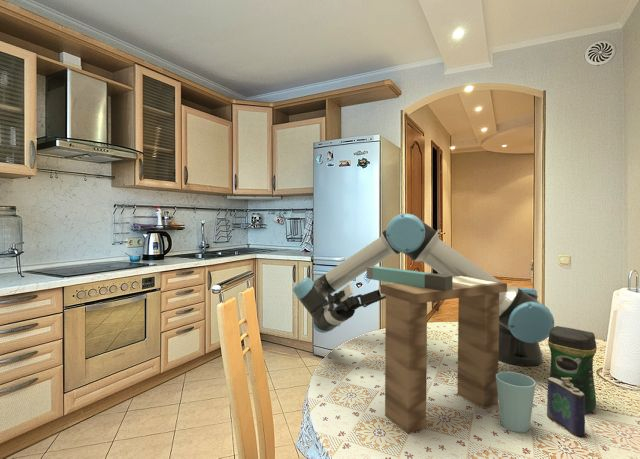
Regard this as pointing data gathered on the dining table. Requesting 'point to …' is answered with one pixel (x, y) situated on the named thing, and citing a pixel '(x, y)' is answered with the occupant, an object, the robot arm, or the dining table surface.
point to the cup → (515, 400)
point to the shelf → (411, 346)
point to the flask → (566, 406)
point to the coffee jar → (574, 360)
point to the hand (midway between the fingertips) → (372, 286)
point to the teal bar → (411, 278)
